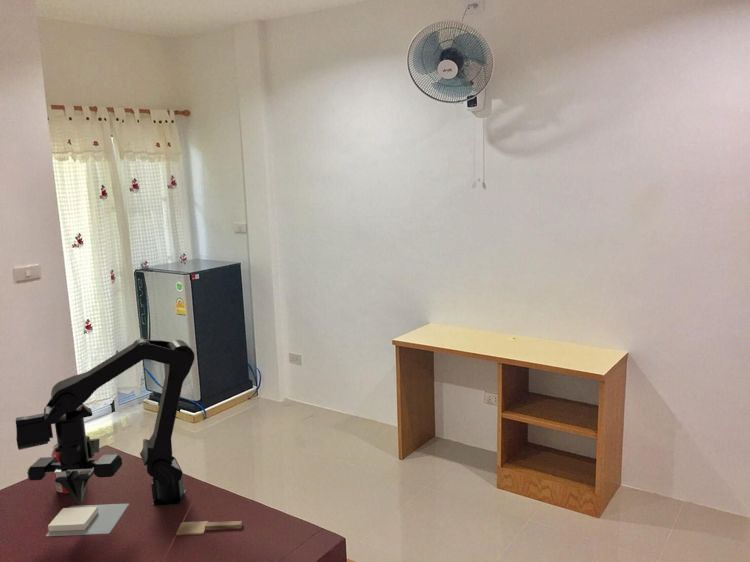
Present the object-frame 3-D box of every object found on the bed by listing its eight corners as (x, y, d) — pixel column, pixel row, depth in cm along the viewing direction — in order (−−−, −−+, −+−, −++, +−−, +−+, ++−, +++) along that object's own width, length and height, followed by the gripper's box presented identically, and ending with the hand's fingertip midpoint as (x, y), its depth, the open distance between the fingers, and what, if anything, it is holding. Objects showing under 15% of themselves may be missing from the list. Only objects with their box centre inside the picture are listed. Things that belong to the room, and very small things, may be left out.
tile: (97, 506, 140) (63, 508, 140) (84, 524, 134) (48, 525, 133) (98, 512, 141) (64, 514, 141) (85, 530, 134) (49, 532, 134)
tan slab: (243, 521, 136) (243, 517, 136) (239, 532, 132) (239, 528, 132) (181, 523, 136) (181, 519, 136) (175, 535, 132) (175, 531, 132)
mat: (129, 504, 144) (129, 503, 144) (109, 535, 133) (109, 533, 132) (71, 507, 144) (70, 506, 144) (45, 537, 132) (45, 536, 132)
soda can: (92, 481, 156) (87, 438, 154) (76, 496, 149) (70, 451, 147) (67, 481, 157) (61, 438, 154) (50, 495, 150) (43, 451, 147)
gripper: (127, 420, 141) (134, 481, 144) (47, 424, 141) (56, 484, 144) (108, 442, 130) (116, 507, 133) (21, 445, 130) (31, 511, 133)
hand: (80, 501), depth 136 cm, fingers closed
